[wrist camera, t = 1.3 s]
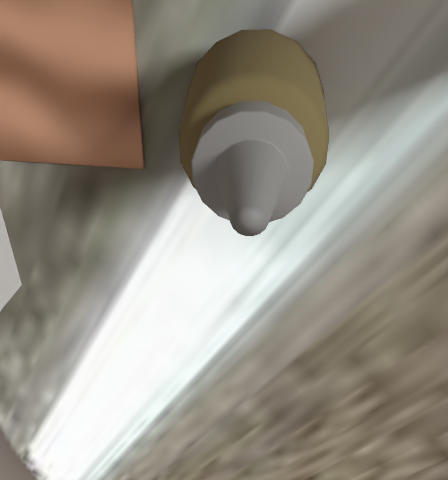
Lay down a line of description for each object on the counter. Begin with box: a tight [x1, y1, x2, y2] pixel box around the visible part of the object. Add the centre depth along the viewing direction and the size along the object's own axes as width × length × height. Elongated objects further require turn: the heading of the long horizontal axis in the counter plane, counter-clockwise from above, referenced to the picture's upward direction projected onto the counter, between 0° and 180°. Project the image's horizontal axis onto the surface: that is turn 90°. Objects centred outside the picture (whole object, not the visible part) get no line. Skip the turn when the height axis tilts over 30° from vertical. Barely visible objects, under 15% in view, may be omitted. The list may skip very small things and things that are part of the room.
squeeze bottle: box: [179, 30, 329, 236], centre depth 20 cm, size 8×8×18 cm
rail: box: [0, 0, 144, 169], centre depth 25 cm, size 16×28×3 cm, turn 88°
